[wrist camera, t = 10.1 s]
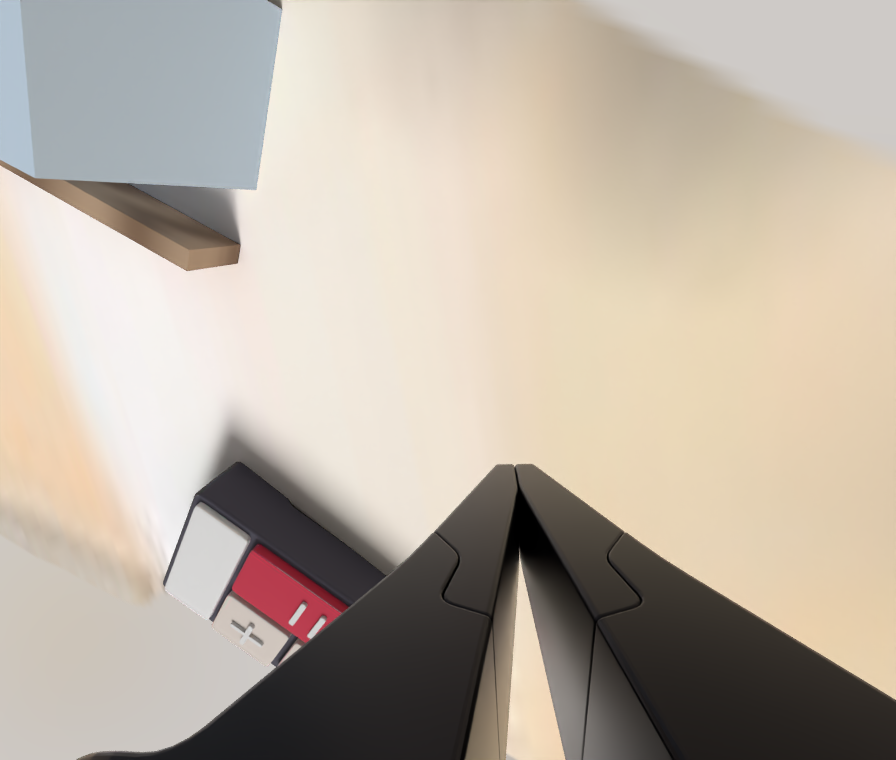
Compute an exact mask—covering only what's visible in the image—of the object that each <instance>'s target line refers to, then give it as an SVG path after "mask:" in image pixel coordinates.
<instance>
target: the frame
mask: <svg viewBox="0 0 896 760" xmlns="http://www.w3.org/2000/svg"><path fill="white" fill-rule="evenodd" d="M0 165H1V166H2V167H4V168H6V169H8V170H9V171H11V172H13V173H15V174H16V175H18V176H20V177H22V178H24V179H25V180H27V181H29V182H31V183H32V184H34V185H36V186H38V187H39V188H41V189H43V190H45V191H46V192H48V193H50V194H52V195H54V196H55V197H57V198H59V199H61V200H62V201H64V202H66V203H68V204H69V205H71V206H73V207H75V208H77V209H78V210H80V211H82V212H84V213H85V214H87V215H89V216H91V217H92V218H94V219H96V220H98V221H99V222H101V223H103V224H105V225H107V226H108V227H110V228H112V229H114V230H115V231H117V232H119V233H121V234H122V235H124V236H126V237H128V238H130V239H131V240H133V241H135V242H137V243H138V244H140V245H142V246H144V247H145V248H147V249H149V250H151V251H152V252H154V253H156V254H158V255H160V256H161V257H163V258H165V259H167V260H168V261H170V262H172V263H174V264H175V265H177V266H179V267H181V268H183V269H184V270H186V271H191V270H197V269H204V268H211V267H217V266H224V265H231V264H237V263H238V257H239V250H240V244H238V243H236V242H234V241H232V240H230V239H229V238H227V237H225V236H223V235H221V234H219V233H218V232H216V231H214V230H212V229H210V228H208V227H207V226H205V225H203V224H201V223H199V222H197V221H196V220H194V219H192V218H190V217H188V216H186V215H185V214H183V213H181V212H179V211H177V210H175V209H173V208H172V207H170V206H168V205H166V204H164V203H162V202H161V201H159V200H157V199H155V198H153V197H151V196H150V195H148V194H146V193H144V192H142V191H140V190H139V189H137V188H135V187H133V186H131V185H129V184H128V183H116V182H97V181H78V180H59V179H41V178H34V177H32V176H30V175H28V174H26V173H24V172H22V171H21V170H19V169H17V168H15V167H13V166H11V165H9V164H7V163H5V162H4V161H2V160H0Z"/></svg>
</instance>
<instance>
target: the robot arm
mask: <svg viewBox="0 0 896 760" xmlns="http://www.w3.org/2000/svg"><path fill="white" fill-rule="evenodd" d="M519 552H520V559H521V565H522V570H523V574H524V578H525V583H526V587H527V592H528V596H529V600H530V605H531V609H532V614H533V618H534V622H535V627H536V631H537V636H538V640H539V644H540V649H541V653H542V658H543V662H544V666H545V671H546V675H547V680H548V684H549V688H550V693H551V697H552V702H553V706H554V710H555V715H556V719H557V724H558V728H559V732H560V737H561V741H562V746H563V750H564V754H565V759H566V760H896V700H895V699H893V698H892V697H890V696H888V695H887V694H885V693H883V692H882V691H880V690H878V689H877V688H875V687H873V686H872V685H870V684H868V683H867V682H865V681H864V680H862V679H860V678H859V677H857V676H855V675H854V674H852V673H850V672H849V671H847V670H845V669H844V668H842V667H840V666H839V665H837V664H835V663H834V662H832V661H831V660H829V659H827V658H826V657H824V656H822V655H821V654H819V653H817V652H816V651H814V650H812V649H811V648H809V647H807V646H806V645H804V644H802V643H801V642H799V641H798V640H796V639H794V638H793V637H791V636H789V635H788V634H786V633H784V632H783V631H781V630H779V629H778V628H776V627H774V626H773V625H771V624H769V623H768V622H766V621H765V620H763V619H761V618H760V617H758V616H756V615H755V614H753V613H751V612H750V611H748V610H746V609H745V608H743V607H741V606H740V605H738V604H736V603H735V602H733V601H731V600H730V599H728V598H727V597H725V596H723V595H722V594H720V593H718V592H717V591H715V590H713V589H712V588H710V587H708V586H707V585H705V584H703V583H702V582H700V581H698V580H697V579H695V578H694V577H692V576H690V575H689V574H687V573H685V572H684V571H682V570H681V569H679V568H678V567H676V566H674V565H673V564H671V563H670V562H668V561H667V560H665V559H663V558H662V557H660V556H659V555H658V554H656V553H655V552H653V551H652V550H650V549H649V548H647V547H646V546H645V545H643V544H642V543H640V542H639V541H638V540H636V539H635V538H633V537H632V536H631V535H629V534H628V533H624V531H623V530H622V529H620V528H619V527H617V526H616V525H615V524H613V523H612V522H611V521H609V520H608V519H607V518H605V517H604V516H603V515H601V514H600V513H598V512H597V511H596V510H594V509H593V508H592V507H590V506H589V505H588V504H586V503H585V502H584V501H582V500H581V499H580V498H578V497H577V496H575V495H574V494H573V493H571V492H570V491H569V490H567V489H566V488H565V487H563V486H562V485H561V484H559V483H558V482H556V481H555V480H554V479H552V478H551V477H550V476H548V475H547V474H546V473H544V472H543V471H542V470H540V469H539V468H538V467H536V466H535V465H533V464H517V465H516V466H515V467H514V465H512V464H500V465H496V466H495V467H494V468H493V469H492V470H491V471H490V472H489V473H488V474H487V476H486V477H485V478H484V479H483V480H482V481H481V482H480V483H479V484H478V485H477V486H476V487H475V488H474V490H473V491H472V492H471V493H470V494H469V495H468V496H467V497H466V498H465V499H464V500H463V501H462V502H461V504H460V505H459V506H458V507H457V508H456V509H455V510H454V511H453V512H452V513H451V514H450V515H449V516H448V518H447V519H446V520H445V521H444V522H443V523H442V524H441V525H440V526H439V527H438V528H437V529H436V530H435V532H434V533H432V534H431V535H430V536H429V537H428V538H427V539H426V540H425V541H424V542H423V543H422V544H421V545H420V546H419V547H418V548H417V549H416V550H415V551H414V552H413V553H412V554H411V555H410V556H409V557H408V558H407V559H406V560H405V561H404V562H403V563H401V564H400V565H399V566H398V567H397V568H396V569H395V570H393V571H392V572H391V573H390V574H389V575H388V576H386V577H385V578H384V579H383V580H381V581H380V582H379V583H378V584H377V585H375V586H374V587H373V588H372V589H371V590H369V591H368V592H367V593H366V594H364V595H363V596H362V597H361V598H360V599H358V600H357V601H356V602H355V603H354V604H352V605H351V606H350V607H349V608H348V609H346V610H345V611H344V612H343V613H341V614H340V615H339V616H338V617H337V618H335V619H334V620H333V621H332V622H331V623H329V624H328V625H327V626H326V627H324V628H323V629H322V630H321V631H320V632H318V633H317V634H316V635H315V636H314V637H312V638H311V639H310V640H309V641H308V642H306V643H305V644H304V645H303V646H301V647H300V648H299V649H298V650H297V651H295V652H294V653H293V654H292V655H291V656H289V657H288V658H287V659H286V660H284V661H283V662H282V663H281V664H280V665H278V666H277V667H276V668H275V669H274V670H272V671H271V672H270V673H269V674H268V675H266V676H265V677H264V678H263V679H262V680H260V681H259V682H258V683H257V684H256V685H254V686H253V687H252V688H251V689H249V690H248V691H247V692H246V693H245V694H243V695H242V696H241V697H240V698H238V699H237V700H236V701H235V702H234V703H232V704H231V705H230V706H229V707H228V708H226V709H225V710H224V711H223V712H221V713H220V714H219V715H218V716H217V717H215V718H214V719H213V720H212V721H211V722H210V723H208V724H207V725H206V726H204V727H203V728H202V729H201V730H199V731H198V732H196V733H195V734H193V735H192V736H191V737H189V738H187V739H185V740H184V741H181V742H180V743H178V744H176V745H174V746H171V747H168V748H165V749H162V750H159V751H154V752H128V751H103V752H96V753H91V754H88V755H85V756H83V757H81V758H78V759H77V760H506V746H507V732H508V717H509V703H510V689H511V674H512V660H513V646H514V631H515V617H516V603H517V588H518V574H519Z"/></svg>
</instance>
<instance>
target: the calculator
mask: <svg viewBox="0 0 896 760" xmlns="http://www.w3.org/2000/svg"><path fill="white" fill-rule="evenodd" d="M385 577H386V575H384V574H383V573H382V572H381V571H379V570H378V569H377V568H375V567H374V566H373V565H372V564H370V563H369V562H368V561H366V560H365V559H364V558H363V557H361V556H360V555H359V554H357V553H356V552H355V551H354V550H352V549H351V548H350V547H348V546H347V545H346V544H344V543H343V542H342V541H340V540H339V539H338V538H336V537H335V536H333V535H332V534H331V533H329V532H328V531H326V530H325V529H324V528H322V527H321V526H319V525H318V524H316V523H315V522H314V521H312V520H311V519H309V518H308V517H307V516H305V515H304V514H302V513H301V512H300V511H298V510H297V509H295V508H294V507H293V506H292V505H291V503H290V501H289V500H288V499H287V498H286V497H285V496H284V495H282V494H281V493H280V492H279V491H277V490H276V489H275V488H273V487H272V486H271V485H270V484H268V483H267V482H266V481H265V480H263V479H262V478H261V477H259V476H258V475H257V474H256V473H254V472H253V471H252V470H250V469H249V468H248V467H247V466H245V465H244V464H243V463H241V462H236V463H235V464H233V465H232V466H231V467H229V468H228V469H227V470H225V471H224V472H223V473H222V474H220V475H219V476H218V477H216V478H215V479H214V480H213V481H211V482H210V483H209V484H207V485H206V486H205V487H203V488H202V489H201V490H200V491H198V492H197V493H196V494H195V496H194V499H193V502H192V504H191V507H190V510H189V513H188V515H187V518H186V521H185V524H184V526H183V529H182V532H181V535H180V537H179V540H178V543H177V545H176V548H175V551H174V554H173V556H172V559H171V562H170V565H169V567H168V570H167V573H166V576H165V578H164V581H163V584H164V586H165V591H166V592H167V593H169V594H170V595H171V596H173V597H174V598H175V599H177V600H178V601H180V602H181V603H183V604H184V605H185V606H187V607H188V608H190V609H191V610H192V611H194V612H195V613H197V614H198V615H199V616H201V617H203V618H204V619H205V620H208V619H210V620H211V621H213V624H212V629H214V630H215V631H216V632H217V633H219V634H220V635H222V636H223V637H224V638H226V639H227V640H229V641H230V642H231V643H233V644H234V645H236V646H237V647H238V648H240V649H241V650H242V651H244V652H246V653H247V654H248V655H249V656H251V657H252V658H254V659H255V660H257V661H258V662H259V663H261V664H262V665H264V666H266V667H267V666H269V665H270V663H272V664H273V665H274V666H276V667H277V666H278V665H280V664H281V663H282V662H283V661H284V660H286V659H287V658H288V657H289V656H291V655H292V654H293V653H294V652H295V651H297V650H298V649H299V648H300V647H301V646H303V645H304V644H305V643H306V642H308V641H309V640H310V639H311V638H312V637H314V636H315V635H316V634H317V633H318V632H320V631H321V630H322V629H323V628H324V627H326V626H327V625H328V624H329V623H331V622H332V621H333V620H334V619H335V618H337V617H338V616H339V615H340V614H341V613H343V612H344V611H345V610H346V609H348V608H349V607H350V606H351V605H352V604H354V603H355V602H356V601H357V600H358V599H360V598H361V597H362V596H363V595H364V594H366V593H367V592H368V591H369V590H371V589H372V588H373V587H374V586H375V585H377V584H378V583H379V582H380V581H381V580H383V579H384V578H385Z"/></svg>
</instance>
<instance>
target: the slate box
mask: <svg viewBox="0 0 896 760" xmlns="http://www.w3.org/2000/svg"><path fill="white" fill-rule="evenodd" d="M281 15H282V9H281V8H279V7H277V6H276V5H274V4H272V3H271V2H269V1H267V0H0V160H2V161H4V162H5V163H7V164H9V165H11V166H13V167H15V168H17V169H19V170H21V171H22V172H24V173H26V174H28V175H30V176H32V177H34V178H41V179H59V180H78V181H97V182H116V183H135V184H153V185H172V186H191V187H210V188H229V189H247V190H256V188H257V181H258V174H259V167H260V160H261V154H262V147H263V140H264V133H265V126H266V119H267V112H268V105H269V98H270V91H271V84H272V77H273V70H274V63H275V56H276V49H277V42H278V35H279V28H280V21H281Z"/></svg>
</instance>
